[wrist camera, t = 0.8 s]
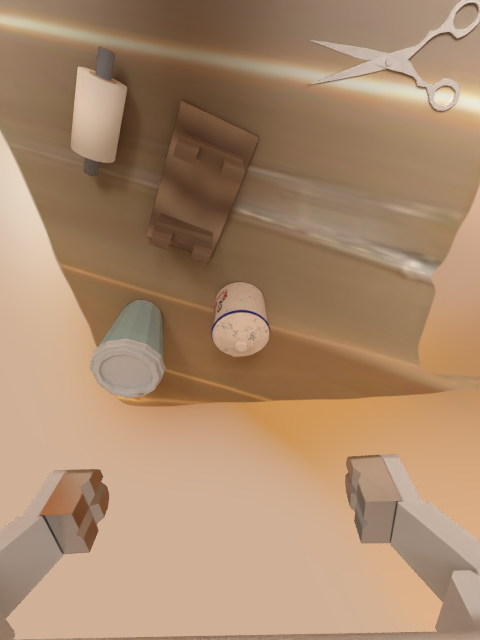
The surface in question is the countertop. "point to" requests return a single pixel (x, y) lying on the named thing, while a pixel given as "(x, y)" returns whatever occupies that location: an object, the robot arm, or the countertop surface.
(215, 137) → the roll holder
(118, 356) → the disposable coffee cup
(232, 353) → the teacup with lid
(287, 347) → the countertop surface
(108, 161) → the paper roll
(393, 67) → the scissors
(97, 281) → the countertop surface
